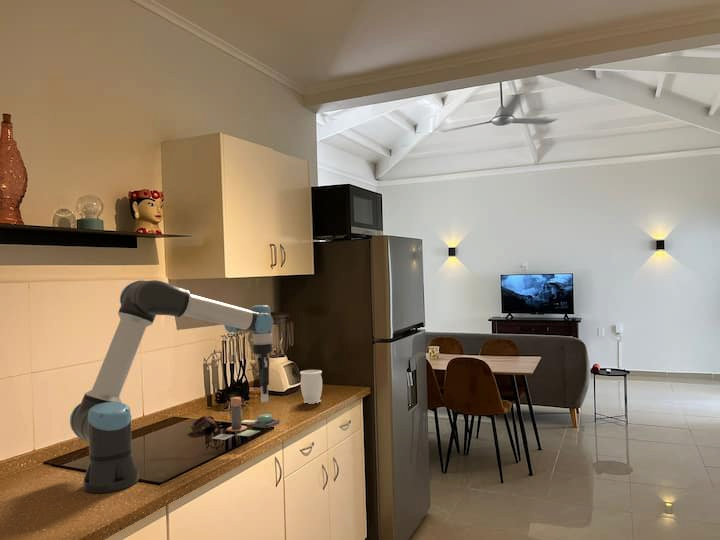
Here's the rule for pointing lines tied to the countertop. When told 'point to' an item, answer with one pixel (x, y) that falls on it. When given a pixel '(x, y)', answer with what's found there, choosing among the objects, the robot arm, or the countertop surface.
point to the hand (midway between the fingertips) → (264, 401)
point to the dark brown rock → (204, 424)
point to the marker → (236, 413)
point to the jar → (311, 386)
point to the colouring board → (247, 432)
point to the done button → (264, 418)
